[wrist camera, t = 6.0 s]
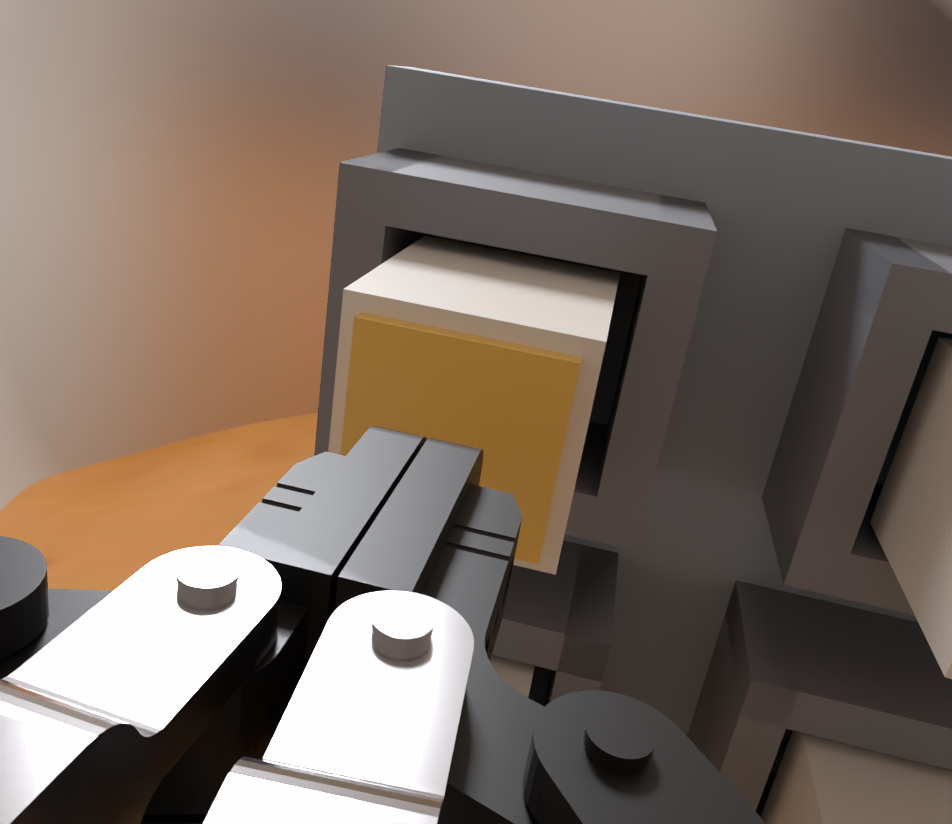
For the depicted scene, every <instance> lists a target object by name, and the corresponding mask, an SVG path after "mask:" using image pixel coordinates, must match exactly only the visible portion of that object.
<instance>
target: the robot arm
mask: <svg viewBox="0 0 952 824" xmlns="http://www.w3.org/2000/svg"><path fill="white" fill-rule="evenodd" d="M482 463H483V449H478V448H474V447H469V446H465V445H460V444H456V443H451V442H447V441H442V440H437V439H433V438H428V439H427V438H426V437H423V436H419V435H414V434H410V433H405V432H401V431H396V430H392V429H387V428H383V427H378V426H374V425H373V426H371V427H370V428H369V429H368V430H367V431H366V432H365V434H364V435H363V436H362V437H361V438H360V440H359V441H358V442H357V443H356V444H355V446H354V447H353V448H352V449H351V450H350V451H349V453H348V454H347V455H346V456H344V455H339V454H335V453H331V452H326V451H325V452H323V453H321V454H318V455H316V456H313V457H311V458H309V459H306V460H304V461H302V462H299V463H297V464H295V465H294V466H293V467H292V468H291V469H290V470H289V471H288V472H287V473H286V474H285V476H284V477H283V478H282V479H281V480H280V481H279V482H278V484H277V487H273V488H272V489H271V490H270V491H269V492H268V493H267V494H266V496H265V497H264V498H263V500H262V503H260V502H259V503H258V504H257V505H256V506H255V507H254V508H253V509H252V510H251V511H250V512H249V513H248V514H247V515H246V517H245V518H244V519H243V520H242V521H241V522H240V523H239V524H238V525H237V526H236V527H235V528H234V529H233V530H232V531H231V532H230V533H229V534H228V535H227V536H226V538H225V539H224V540H223V541H222V542H221V543H220V544H219V545H218V546H204V547H193V548H186V549H182V550H178V551H174V552H171V553H168V554H165V555H162V556H160V557H158V558H156V559H154V560H153V561H151V562H150V563H148V564H147V565H145V566H144V567H143V568H141V569H140V570H139V571H138V572H136V573H135V574H134V575H133V576H132V577H130V578H129V579H128V580H127V581H125V582H124V583H123V584H122V585H120V586H119V587H118V588H117V589H115V590H114V591H102V590H73V589H48V583H47V563H46V560H45V558H44V556H43V554H42V553H41V552H40V551H39V550H38V549H36V548H35V547H34V546H32V545H30V544H28V543H26V542H24V541H21V540H17V539H14V538H9V537H4V536H0V824H766V823H765V822H764V821H763V820H762V818H761V817H760V816H759V815H758V814H757V813H756V812H755V811H754V810H753V809H752V807H751V806H750V805H749V804H748V803H747V802H746V801H745V800H744V799H743V797H742V796H741V795H740V794H739V793H738V792H737V791H736V790H735V789H734V788H733V786H732V785H731V784H730V783H729V782H728V781H727V780H726V779H725V778H724V776H723V775H722V774H721V773H720V772H719V771H718V770H717V769H716V768H715V767H714V765H713V764H712V763H711V762H710V761H709V760H708V759H707V758H706V757H705V755H704V754H703V753H702V752H701V751H700V750H699V749H698V748H697V747H696V746H695V744H694V743H693V742H692V741H691V740H690V739H689V738H688V737H687V736H686V735H685V733H684V732H683V731H682V730H681V729H680V728H679V727H678V726H677V725H676V724H675V723H674V722H673V721H672V720H670V719H669V718H668V717H666V716H665V715H664V714H663V713H661V712H660V711H658V710H656V709H655V708H653V707H651V706H650V705H648V704H646V703H644V702H641V701H639V700H637V699H635V698H632V697H629V696H626V695H623V694H618V693H614V692H609V691H599V690H584V691H577V692H571V693H568V694H565V695H562V696H560V697H558V698H556V699H554V700H553V701H551V702H550V703H549V704H548V705H546V706H545V707H544V706H542V705H540V704H539V703H537V702H535V701H533V700H531V699H529V698H528V697H526V696H524V695H523V694H521V693H519V692H518V691H516V690H515V689H514V688H513V687H511V686H510V685H509V684H507V683H506V682H505V681H504V680H503V679H502V678H501V677H500V676H499V674H498V673H497V672H496V670H495V669H494V668H493V666H492V665H491V663H490V659H491V655H492V652H493V649H494V645H495V641H496V638H497V635H498V632H499V628H500V625H501V621H502V618H503V615H504V610H505V604H506V599H507V594H508V589H509V584H510V579H511V573H512V568H513V563H514V558H515V553H516V548H517V542H518V537H519V532H520V527H521V522H522V517H523V516H522V514H521V511H520V509H519V507H518V505H517V502H516V500H515V498H514V496H513V494H512V493H508V492H503V491H499V490H494V489H490V488H486V487H481V486H479V482H480V476H481V470H482Z"/></svg>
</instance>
